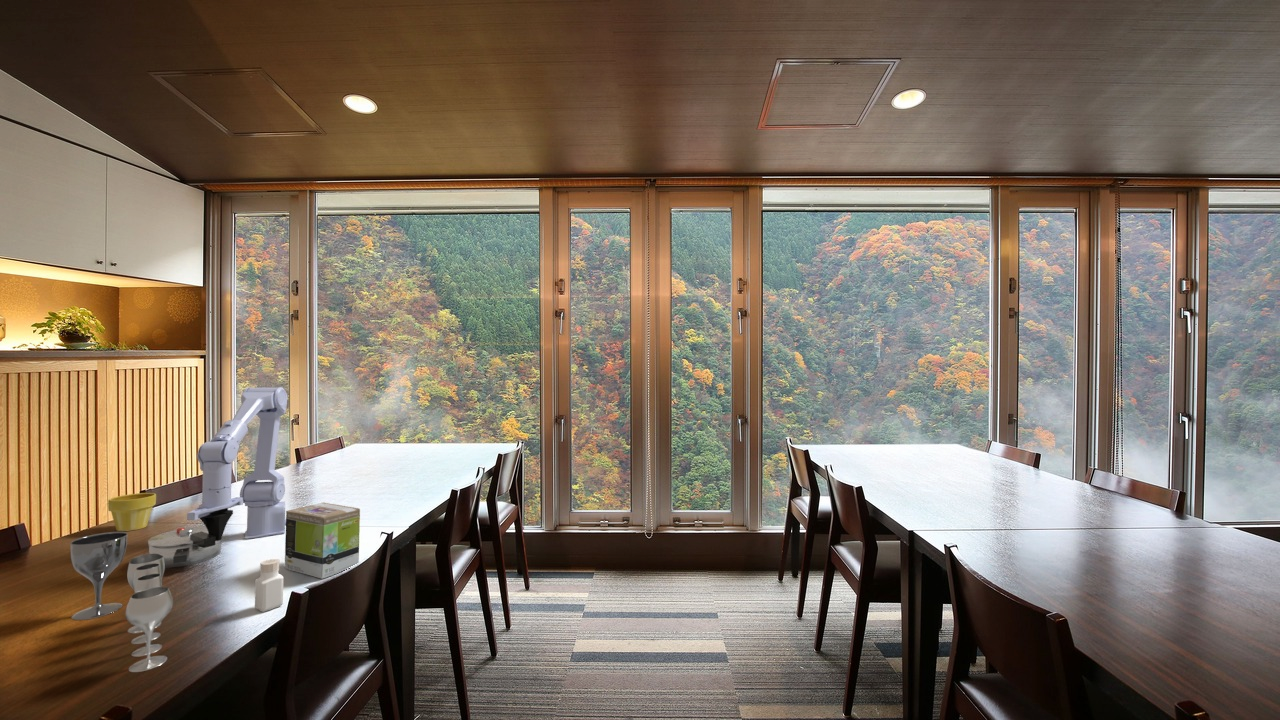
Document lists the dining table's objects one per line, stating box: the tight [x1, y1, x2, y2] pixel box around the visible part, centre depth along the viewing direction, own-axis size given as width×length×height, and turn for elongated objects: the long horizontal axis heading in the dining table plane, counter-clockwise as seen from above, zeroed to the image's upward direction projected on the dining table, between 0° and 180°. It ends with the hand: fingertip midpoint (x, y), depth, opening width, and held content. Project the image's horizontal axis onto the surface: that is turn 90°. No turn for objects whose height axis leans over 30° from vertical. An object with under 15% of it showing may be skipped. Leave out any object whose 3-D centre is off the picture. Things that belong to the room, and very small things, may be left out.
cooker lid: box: [147, 525, 216, 548], centre depth 130 cm, size 20×14×2 cm
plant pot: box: [107, 492, 157, 532], centre depth 155 cm, size 10×10×10 cm
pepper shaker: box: [254, 558, 284, 613], centre depth 105 cm, size 4×4×10 cm
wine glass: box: [70, 531, 128, 621], centre depth 103 cm, size 8×8×15 cm
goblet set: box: [125, 553, 174, 673], centre depth 93 cm, size 28×6×13 cm, turn 46°
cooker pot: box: [148, 539, 222, 569], centre depth 129 cm, size 20×14×5 cm
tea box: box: [284, 502, 361, 580], centre depth 126 cm, size 15×10×15 cm
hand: (215, 540), depth 129 cm, fingers closed
